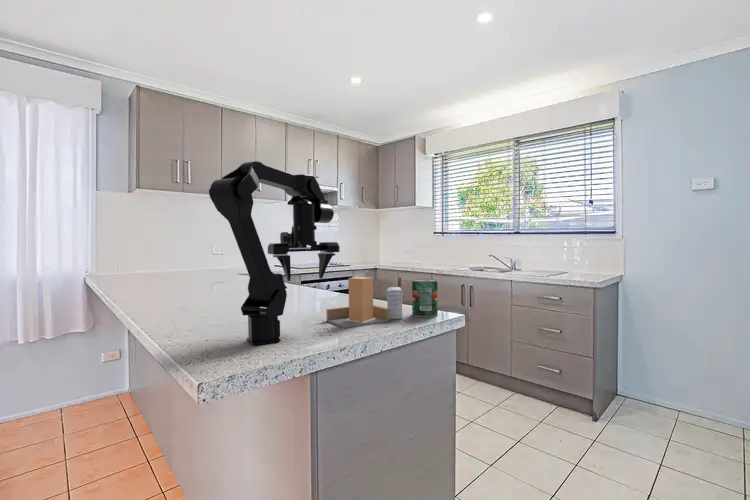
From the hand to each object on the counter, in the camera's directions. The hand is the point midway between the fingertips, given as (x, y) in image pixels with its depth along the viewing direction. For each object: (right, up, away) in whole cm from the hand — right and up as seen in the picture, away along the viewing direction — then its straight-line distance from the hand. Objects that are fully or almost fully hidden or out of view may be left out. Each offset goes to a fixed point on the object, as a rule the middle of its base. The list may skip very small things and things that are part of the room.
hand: (305, 279), depth 109 cm
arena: (+14, -13, +7) cm, 20 cm away
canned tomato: (+35, -12, +15) cm, 40 cm away
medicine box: (+25, -13, +13) cm, 31 cm away
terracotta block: (+15, -12, +7) cm, 20 cm away
